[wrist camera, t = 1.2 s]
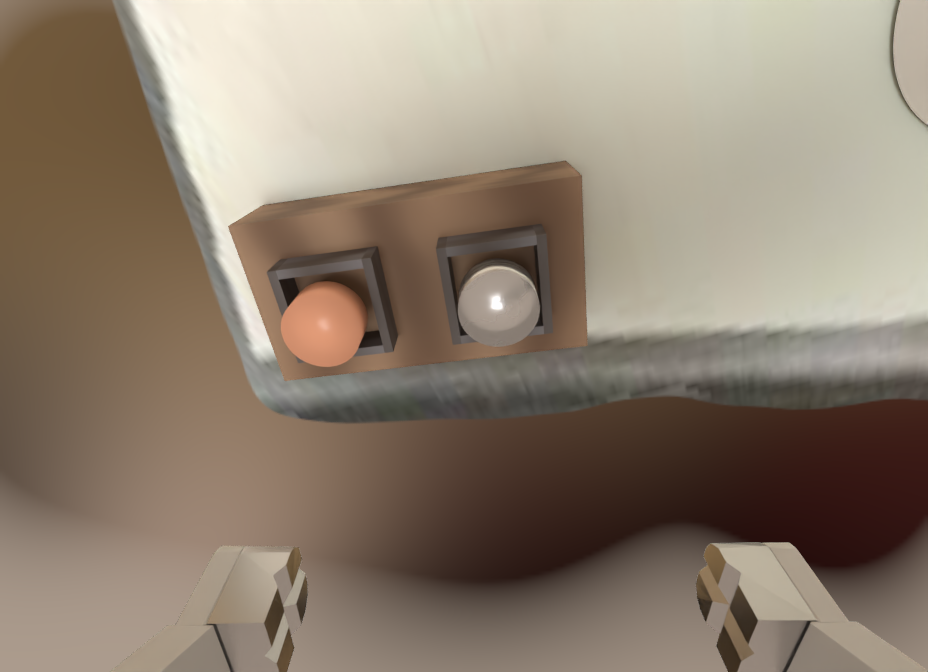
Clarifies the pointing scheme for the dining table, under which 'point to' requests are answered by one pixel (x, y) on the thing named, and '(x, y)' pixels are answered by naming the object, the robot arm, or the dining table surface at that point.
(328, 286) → the terracotta button
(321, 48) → the dining table surface
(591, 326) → the dining table surface
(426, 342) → the button box
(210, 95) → the dining table surface
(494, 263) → the steel button
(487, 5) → the dining table surface
